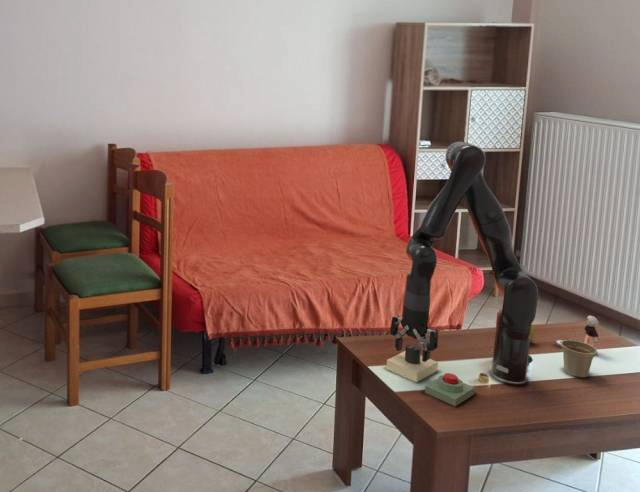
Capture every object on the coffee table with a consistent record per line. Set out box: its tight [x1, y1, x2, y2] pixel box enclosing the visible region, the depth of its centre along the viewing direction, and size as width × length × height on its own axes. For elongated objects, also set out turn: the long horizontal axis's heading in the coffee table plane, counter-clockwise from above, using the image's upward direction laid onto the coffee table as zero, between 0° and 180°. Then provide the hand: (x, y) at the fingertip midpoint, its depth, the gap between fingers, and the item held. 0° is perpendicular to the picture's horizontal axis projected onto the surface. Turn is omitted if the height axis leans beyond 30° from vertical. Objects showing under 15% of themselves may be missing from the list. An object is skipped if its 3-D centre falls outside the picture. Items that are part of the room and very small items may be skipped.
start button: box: [443, 372, 458, 384], centre depth 198 cm, size 4×4×2 cm
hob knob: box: [404, 343, 422, 364], centre depth 211 cm, size 4×4×5 cm
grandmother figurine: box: [583, 315, 600, 348], centre depth 226 cm, size 8×4×13 cm, turn 5°
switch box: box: [424, 374, 476, 407], centre depth 198 cm, size 11×9×4 cm
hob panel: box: [385, 350, 439, 383], centre depth 212 cm, size 12×10×3 cm
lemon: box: [530, 324, 535, 342], centre depth 232 cm, size 6×6×8 cm
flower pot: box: [560, 339, 598, 378], centre depth 212 cm, size 9×9×9 cm
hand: (411, 355), depth 211 cm, fingers open, 8 cm apart
